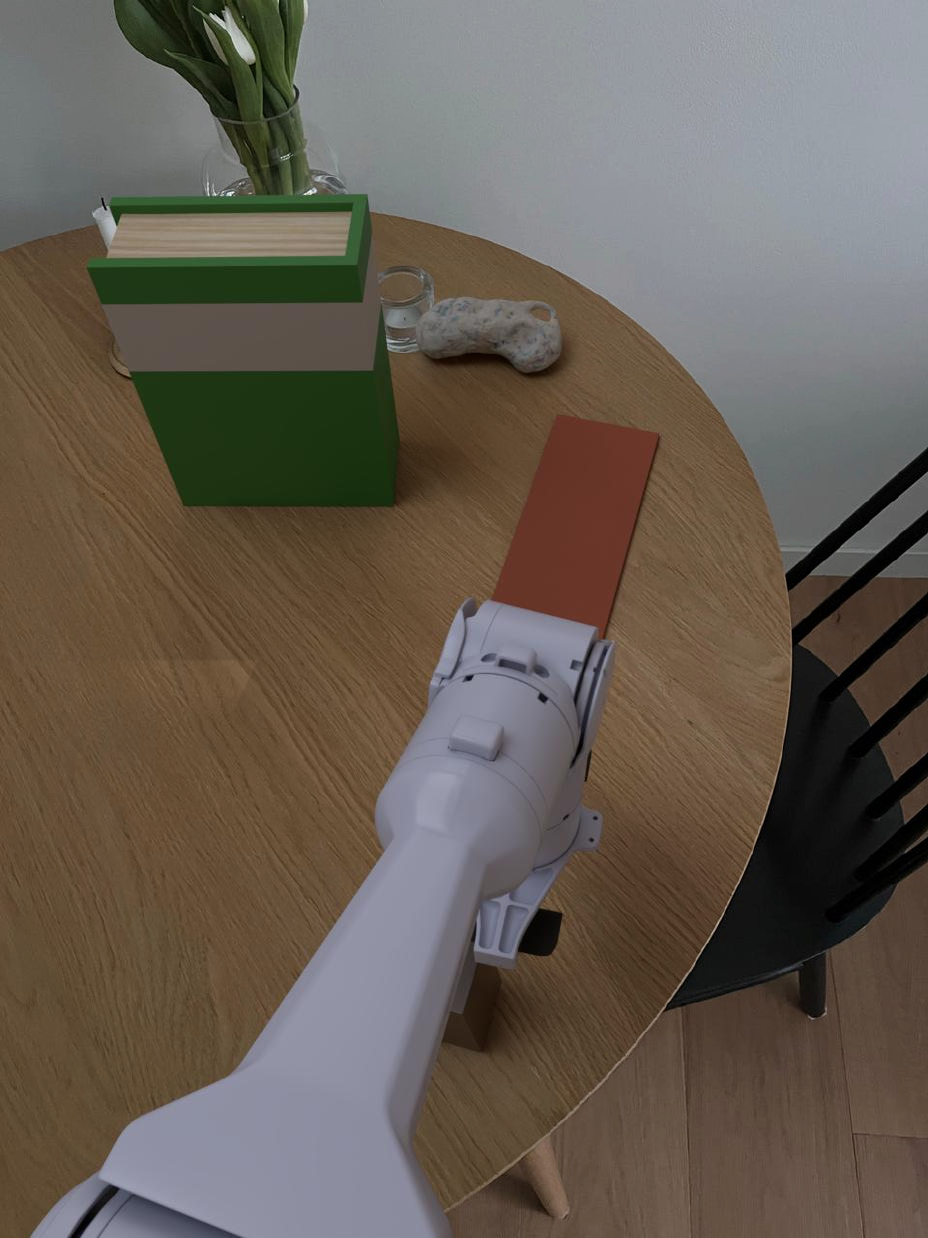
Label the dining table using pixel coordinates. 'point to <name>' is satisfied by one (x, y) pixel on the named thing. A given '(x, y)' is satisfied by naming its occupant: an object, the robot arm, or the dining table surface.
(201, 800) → the dining table surface
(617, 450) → the terracotta mat
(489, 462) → the dining table surface
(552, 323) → the decorative stone
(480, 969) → the walnut block
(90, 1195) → the robot arm
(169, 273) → the hardback book
